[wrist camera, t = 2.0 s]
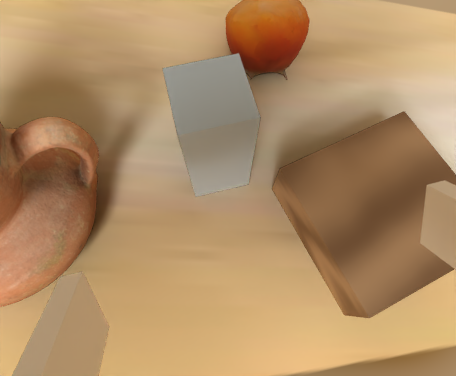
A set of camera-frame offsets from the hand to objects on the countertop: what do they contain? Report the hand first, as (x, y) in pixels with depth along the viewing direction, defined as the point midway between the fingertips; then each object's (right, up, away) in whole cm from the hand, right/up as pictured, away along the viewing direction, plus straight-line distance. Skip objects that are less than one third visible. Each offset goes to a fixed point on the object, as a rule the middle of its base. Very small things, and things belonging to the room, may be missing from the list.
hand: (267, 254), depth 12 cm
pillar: (-3, +5, +17) cm, 18 cm away
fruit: (+2, +17, +22) cm, 28 cm away
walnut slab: (+11, 0, +16) cm, 19 cm away
